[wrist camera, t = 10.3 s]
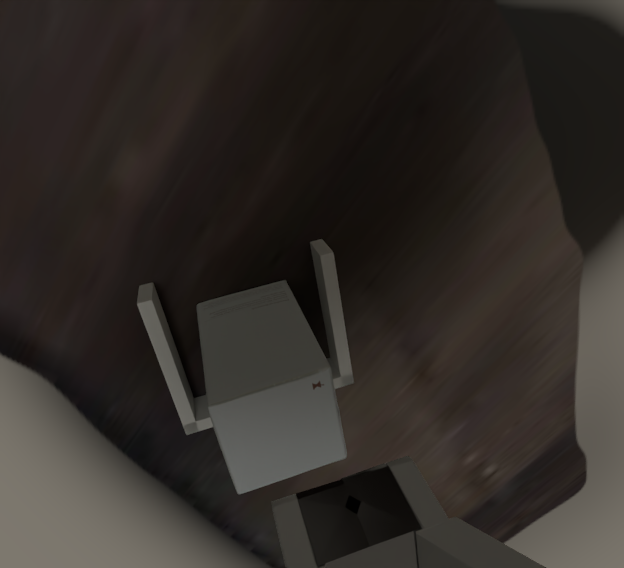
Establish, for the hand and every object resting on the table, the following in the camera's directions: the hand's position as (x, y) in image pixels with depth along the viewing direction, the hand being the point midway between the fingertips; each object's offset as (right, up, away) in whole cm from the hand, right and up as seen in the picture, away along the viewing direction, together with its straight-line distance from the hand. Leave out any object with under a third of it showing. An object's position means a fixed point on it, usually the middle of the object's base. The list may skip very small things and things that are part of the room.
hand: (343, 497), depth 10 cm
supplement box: (-6, +1, +29) cm, 30 cm away
